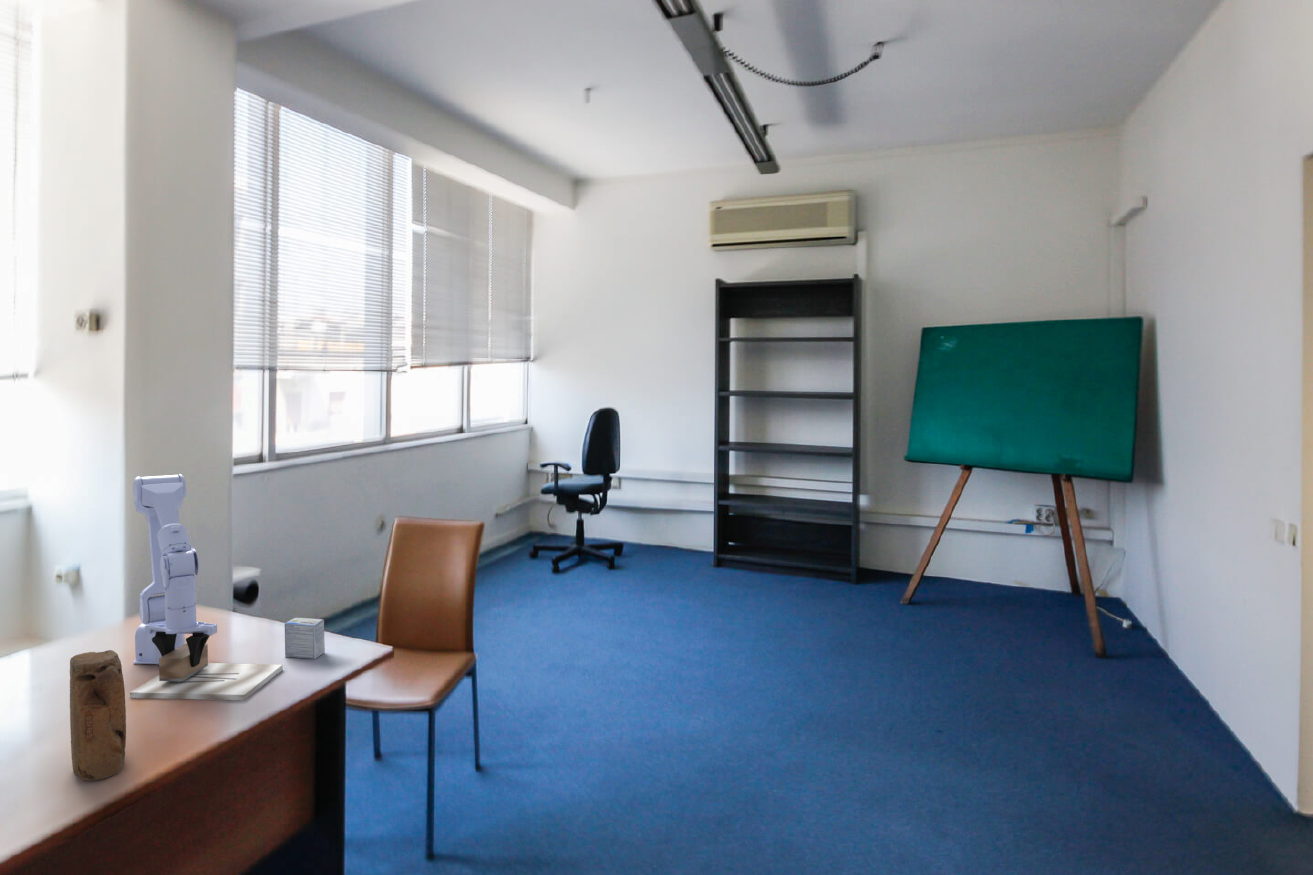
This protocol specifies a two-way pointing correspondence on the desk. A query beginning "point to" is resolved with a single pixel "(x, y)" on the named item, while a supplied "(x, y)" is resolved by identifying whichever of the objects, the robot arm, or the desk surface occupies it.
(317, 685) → the desk surface
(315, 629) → the medicine box
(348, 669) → the desk surface
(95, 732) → the block
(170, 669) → the block
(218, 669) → the board
